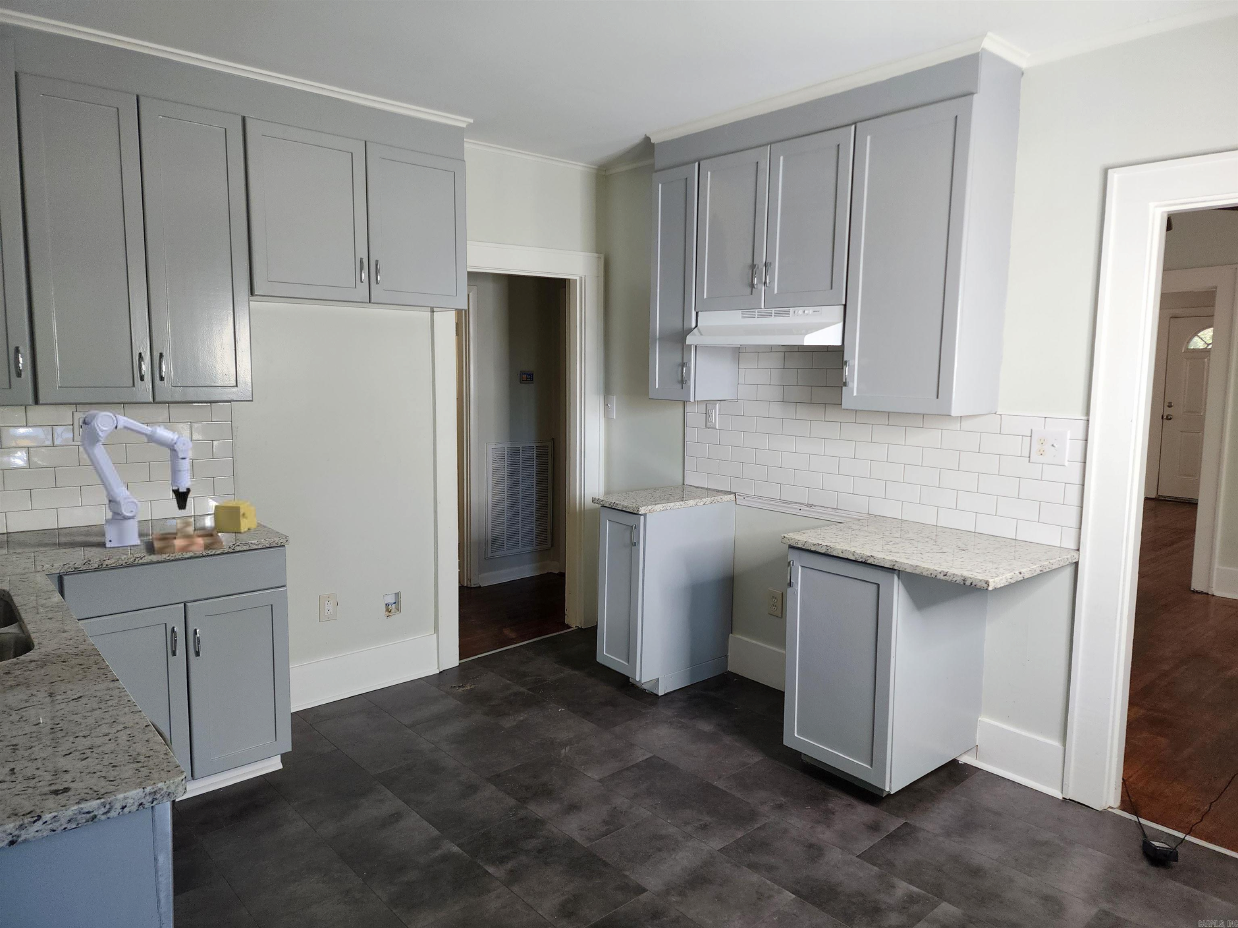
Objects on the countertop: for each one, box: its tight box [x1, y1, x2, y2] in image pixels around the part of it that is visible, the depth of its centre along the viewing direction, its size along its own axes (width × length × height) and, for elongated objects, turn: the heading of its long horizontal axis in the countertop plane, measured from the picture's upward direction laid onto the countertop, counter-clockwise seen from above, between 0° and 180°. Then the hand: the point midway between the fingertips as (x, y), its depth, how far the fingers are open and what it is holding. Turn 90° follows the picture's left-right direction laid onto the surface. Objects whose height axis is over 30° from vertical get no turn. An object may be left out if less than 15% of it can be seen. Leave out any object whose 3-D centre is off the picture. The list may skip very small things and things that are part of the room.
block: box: [175, 518, 194, 535], centre depth 273 cm, size 4×4×4 cm
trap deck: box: [151, 528, 224, 556], centre depth 267 cm, size 19×22×2 cm
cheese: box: [213, 499, 258, 533], centre depth 293 cm, size 10×11×10 cm
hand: (182, 509), depth 280 cm, fingers closed
